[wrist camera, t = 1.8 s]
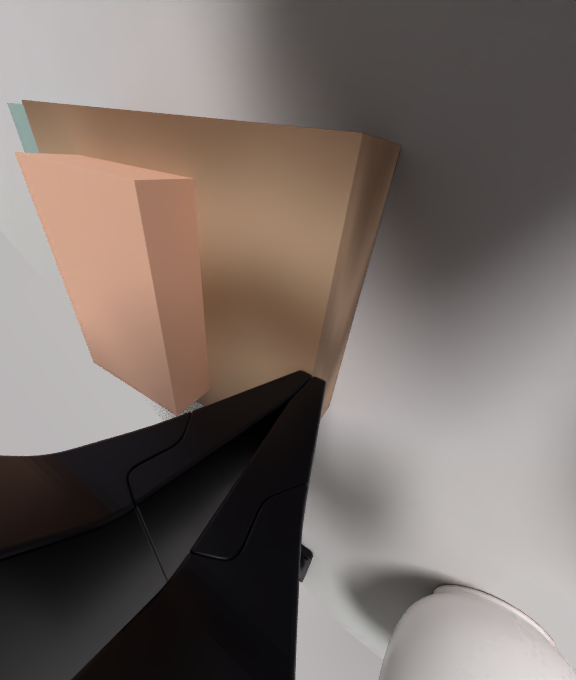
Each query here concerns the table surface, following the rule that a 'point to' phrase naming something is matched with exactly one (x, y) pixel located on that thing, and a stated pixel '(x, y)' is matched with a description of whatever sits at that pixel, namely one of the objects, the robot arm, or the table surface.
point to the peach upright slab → (128, 268)
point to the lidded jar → (470, 641)
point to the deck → (255, 227)
